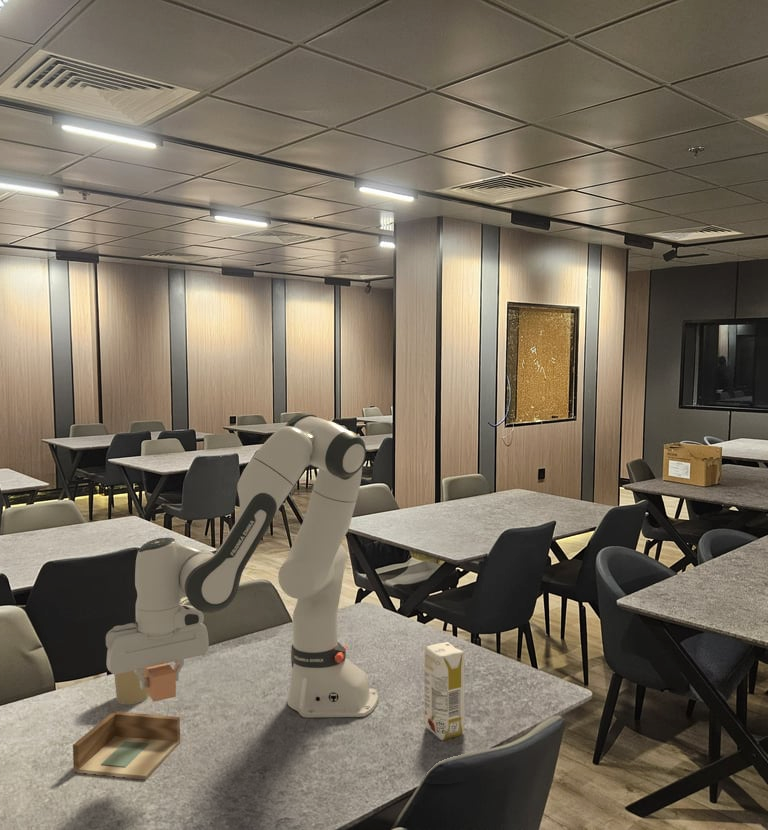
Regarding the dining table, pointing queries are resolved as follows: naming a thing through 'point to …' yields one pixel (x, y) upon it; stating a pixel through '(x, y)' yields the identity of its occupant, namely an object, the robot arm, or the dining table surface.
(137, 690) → the coffee cup
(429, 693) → the juice carton
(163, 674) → the brick
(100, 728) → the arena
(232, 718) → the dining table surface
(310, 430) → the robot arm
